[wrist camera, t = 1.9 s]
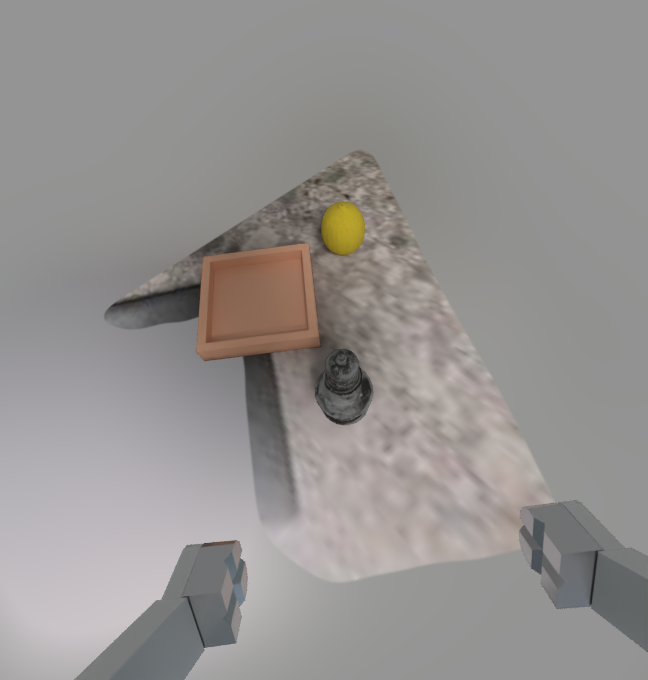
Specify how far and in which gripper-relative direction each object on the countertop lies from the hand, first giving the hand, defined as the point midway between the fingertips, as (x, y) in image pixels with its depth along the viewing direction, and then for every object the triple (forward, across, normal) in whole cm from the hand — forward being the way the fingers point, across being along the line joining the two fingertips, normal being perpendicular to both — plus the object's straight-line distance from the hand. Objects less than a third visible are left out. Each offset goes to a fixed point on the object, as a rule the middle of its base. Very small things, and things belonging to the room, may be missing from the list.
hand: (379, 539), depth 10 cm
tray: (+37, +9, 0) cm, 38 cm away
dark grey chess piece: (+27, 0, +10) cm, 29 cm away
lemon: (+42, -2, -5) cm, 43 cm away
